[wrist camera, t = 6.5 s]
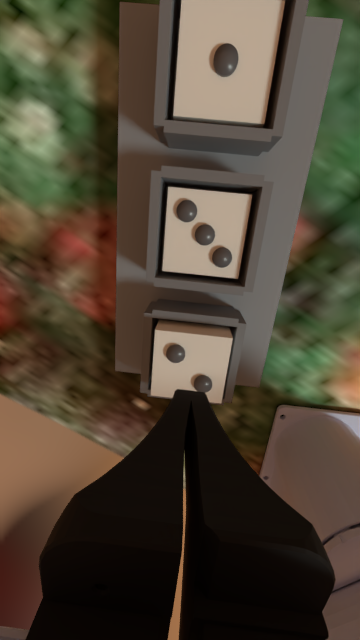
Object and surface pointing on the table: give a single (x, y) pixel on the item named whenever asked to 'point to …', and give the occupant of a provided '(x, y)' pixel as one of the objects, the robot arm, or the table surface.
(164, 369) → the two pip button
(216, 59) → the one pip button
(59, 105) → the table surface
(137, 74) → the button panel
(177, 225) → the three pip button
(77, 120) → the table surface
